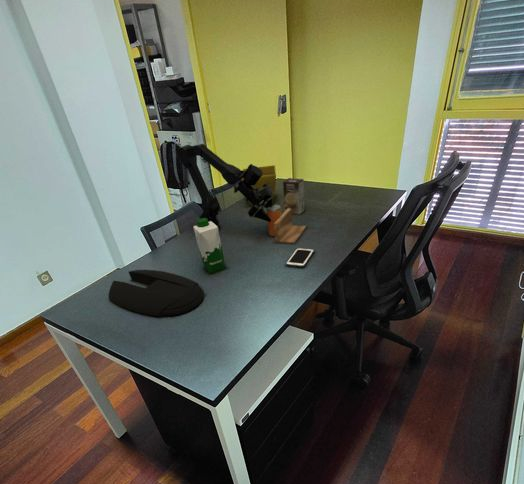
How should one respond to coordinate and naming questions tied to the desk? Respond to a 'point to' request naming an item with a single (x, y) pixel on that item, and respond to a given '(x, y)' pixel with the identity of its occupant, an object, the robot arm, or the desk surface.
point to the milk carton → (209, 245)
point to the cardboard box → (266, 178)
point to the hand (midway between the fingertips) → (274, 217)
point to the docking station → (157, 293)
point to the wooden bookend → (287, 229)
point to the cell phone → (300, 257)
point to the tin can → (273, 217)
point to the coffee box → (294, 195)
